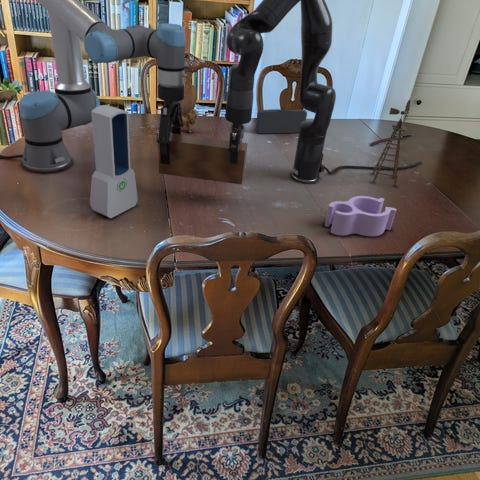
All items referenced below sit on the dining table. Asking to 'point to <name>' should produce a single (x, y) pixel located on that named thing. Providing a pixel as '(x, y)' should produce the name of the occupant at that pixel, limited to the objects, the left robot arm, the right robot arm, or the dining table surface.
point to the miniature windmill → (399, 125)
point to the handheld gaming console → (280, 120)
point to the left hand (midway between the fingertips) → (170, 155)
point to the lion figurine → (190, 119)
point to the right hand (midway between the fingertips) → (234, 158)
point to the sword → (386, 139)
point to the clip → (359, 216)
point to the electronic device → (112, 163)
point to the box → (204, 159)
